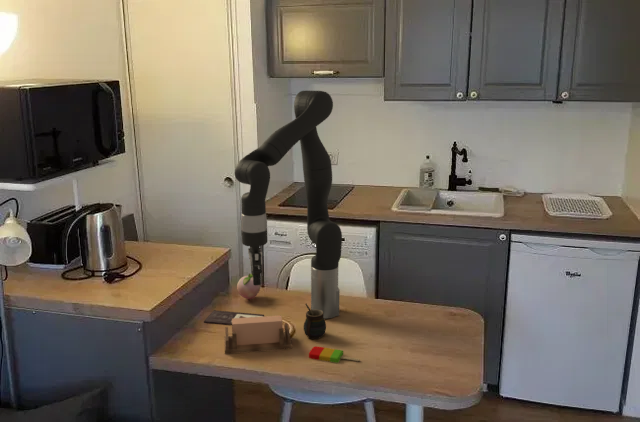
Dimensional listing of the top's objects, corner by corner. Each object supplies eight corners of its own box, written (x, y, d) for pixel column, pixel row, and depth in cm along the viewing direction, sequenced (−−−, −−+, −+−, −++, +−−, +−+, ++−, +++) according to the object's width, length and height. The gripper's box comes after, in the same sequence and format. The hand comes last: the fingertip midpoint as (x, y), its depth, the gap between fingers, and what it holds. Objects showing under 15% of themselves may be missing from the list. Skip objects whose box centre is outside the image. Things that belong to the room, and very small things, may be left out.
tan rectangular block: (281, 336, 185) (281, 315, 183) (282, 342, 181) (282, 320, 179) (232, 339, 183) (231, 318, 181) (232, 345, 179) (232, 324, 177)
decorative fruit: (241, 293, 221) (241, 268, 218) (263, 295, 219) (262, 269, 217) (234, 303, 212) (233, 277, 209) (256, 305, 210) (255, 278, 208)
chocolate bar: (213, 310, 205) (263, 314, 202) (213, 312, 205) (264, 317, 202) (203, 321, 197) (256, 326, 193) (204, 323, 197) (256, 328, 194)
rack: (288, 335, 188) (288, 317, 186) (291, 348, 179) (291, 330, 178) (224, 339, 185) (223, 321, 183) (224, 353, 176) (224, 334, 175)
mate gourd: (318, 343, 183) (318, 313, 180) (298, 337, 187) (297, 308, 184) (330, 334, 189) (330, 305, 186) (310, 328, 193) (310, 300, 190)
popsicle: (313, 350, 179) (313, 345, 179) (362, 358, 175) (362, 352, 174) (307, 359, 174) (307, 353, 174) (357, 367, 170) (357, 361, 169)
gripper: (269, 234, 168) (270, 287, 172) (265, 220, 182) (266, 270, 186) (242, 235, 167) (244, 289, 171) (240, 221, 180) (242, 272, 185)
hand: (256, 279), depth 178 cm, fingers open, 8 cm apart
